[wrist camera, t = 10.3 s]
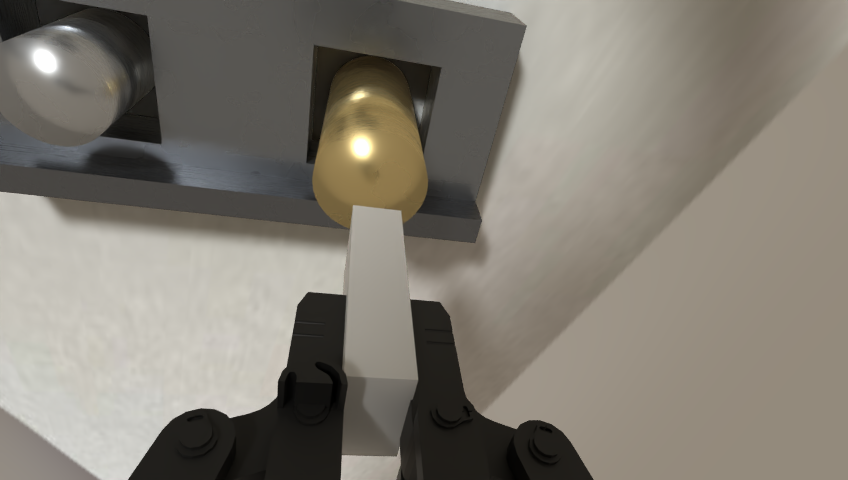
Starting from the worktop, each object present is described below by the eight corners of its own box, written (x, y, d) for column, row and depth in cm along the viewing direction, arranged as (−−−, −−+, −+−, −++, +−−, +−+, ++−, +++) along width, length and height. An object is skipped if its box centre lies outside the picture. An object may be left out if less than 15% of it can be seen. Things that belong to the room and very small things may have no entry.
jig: (-82, -107, 20) (-197, -108, 16) (511, 13, 25) (538, 35, 21) (-4, 138, 26) (-72, 183, 22) (461, 197, 31) (474, 243, 27)
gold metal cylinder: (333, 49, 25) (316, 122, 17) (416, 63, 26) (438, 139, 18) (326, 128, 28) (309, 226, 19) (403, 139, 28) (416, 237, 20)
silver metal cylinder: (53, -1, 23) (-34, 28, 18) (154, 17, 24) (98, 49, 19) (73, 91, 25) (1, 138, 20) (164, 105, 26) (116, 153, 21)
